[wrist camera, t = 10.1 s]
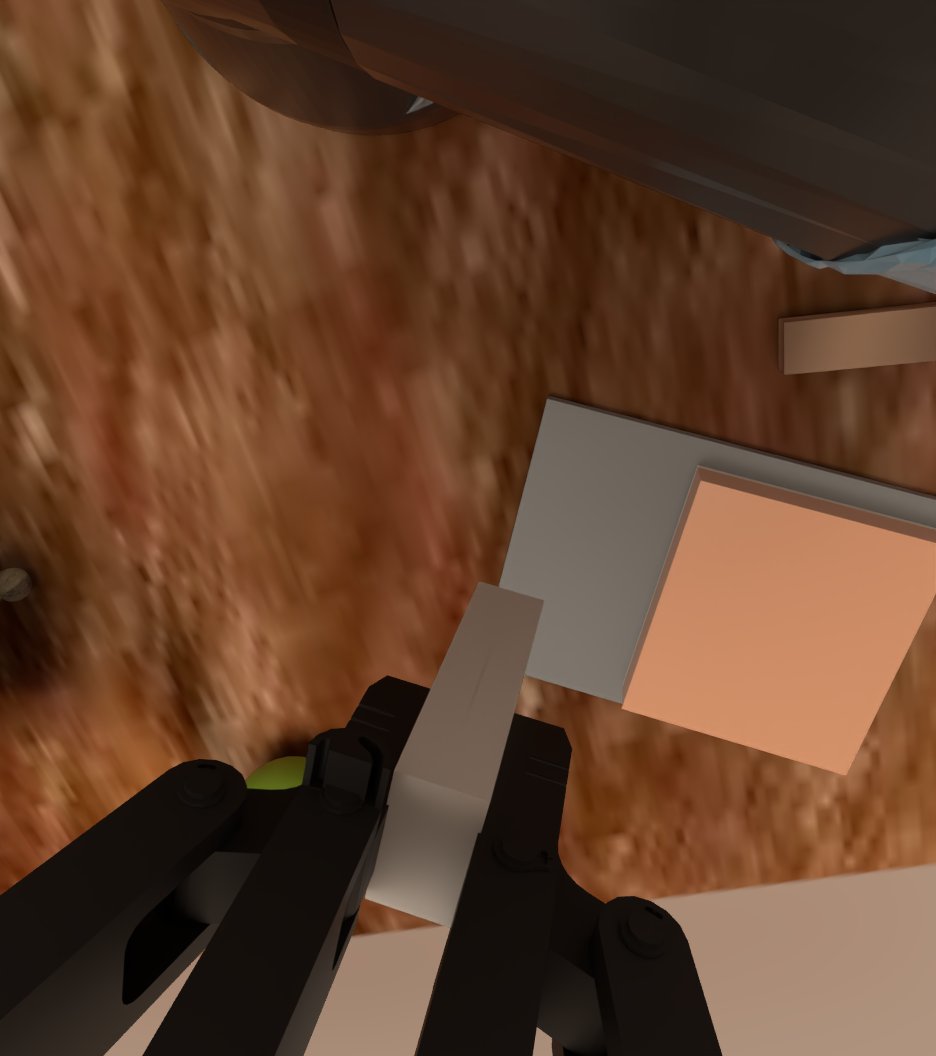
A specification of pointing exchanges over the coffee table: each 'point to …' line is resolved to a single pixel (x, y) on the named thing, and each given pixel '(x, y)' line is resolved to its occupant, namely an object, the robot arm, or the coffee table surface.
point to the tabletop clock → (14, 584)
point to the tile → (780, 618)
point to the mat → (631, 529)
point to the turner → (858, 338)
